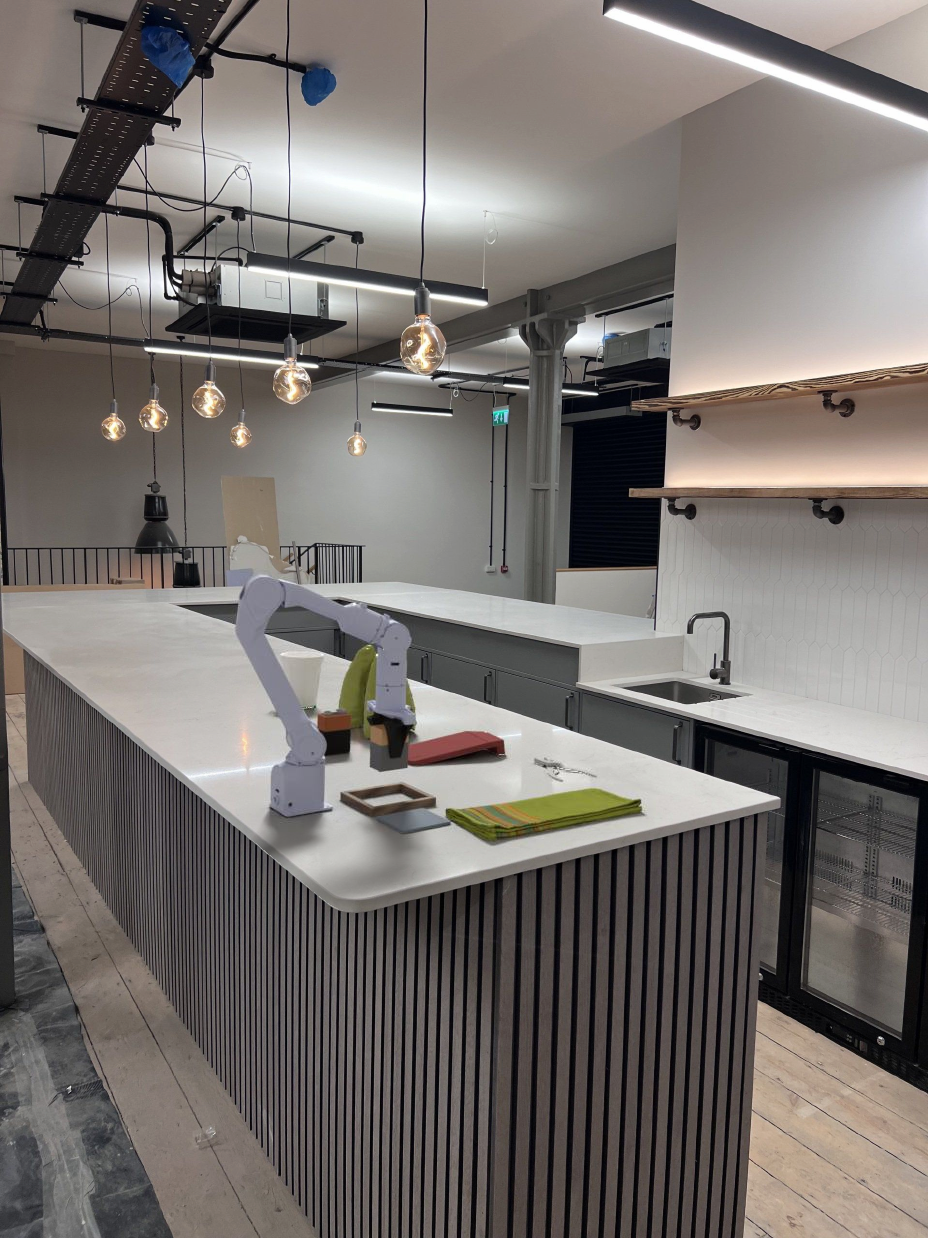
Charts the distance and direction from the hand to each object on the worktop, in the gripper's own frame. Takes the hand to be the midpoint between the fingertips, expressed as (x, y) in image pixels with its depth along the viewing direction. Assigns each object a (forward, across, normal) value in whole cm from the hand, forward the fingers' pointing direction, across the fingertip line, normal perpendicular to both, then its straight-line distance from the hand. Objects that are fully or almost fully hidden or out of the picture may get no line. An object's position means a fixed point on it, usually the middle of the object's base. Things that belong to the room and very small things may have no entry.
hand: (389, 755), depth 168 cm
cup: (+10, +91, -26) cm, 95 cm away
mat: (+9, -12, +2) cm, 15 cm away
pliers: (+10, +1, -45) cm, 46 cm away
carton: (+10, +24, -31) cm, 41 cm away
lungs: (+10, +55, -30) cm, 63 cm away
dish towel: (+10, -21, -22) cm, 32 cm away
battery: (+10, +39, -9) cm, 41 cm away
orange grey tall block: (+2, 0, 0) cm, 2 cm away
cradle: (+9, 0, 0) cm, 9 cm away
